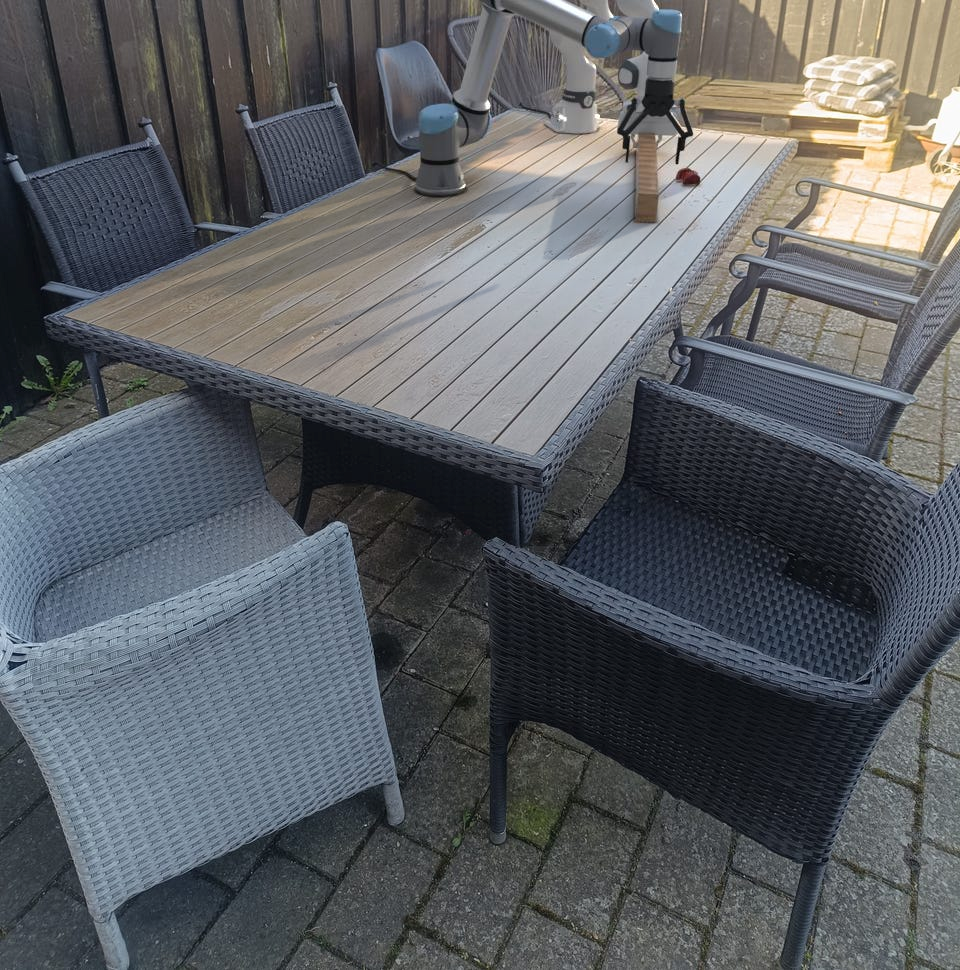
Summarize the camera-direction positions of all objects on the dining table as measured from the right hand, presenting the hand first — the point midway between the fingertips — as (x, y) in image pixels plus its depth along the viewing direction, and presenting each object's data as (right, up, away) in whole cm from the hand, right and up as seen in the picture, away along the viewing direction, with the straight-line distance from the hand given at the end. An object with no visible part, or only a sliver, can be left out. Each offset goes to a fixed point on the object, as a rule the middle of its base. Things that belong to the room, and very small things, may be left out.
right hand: (645, 148), depth 289 cm
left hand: (-9, -27, -57) cm, 63 cm away
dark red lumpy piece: (+9, -21, -24) cm, 33 cm away
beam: (-5, -20, -24) cm, 31 cm away
